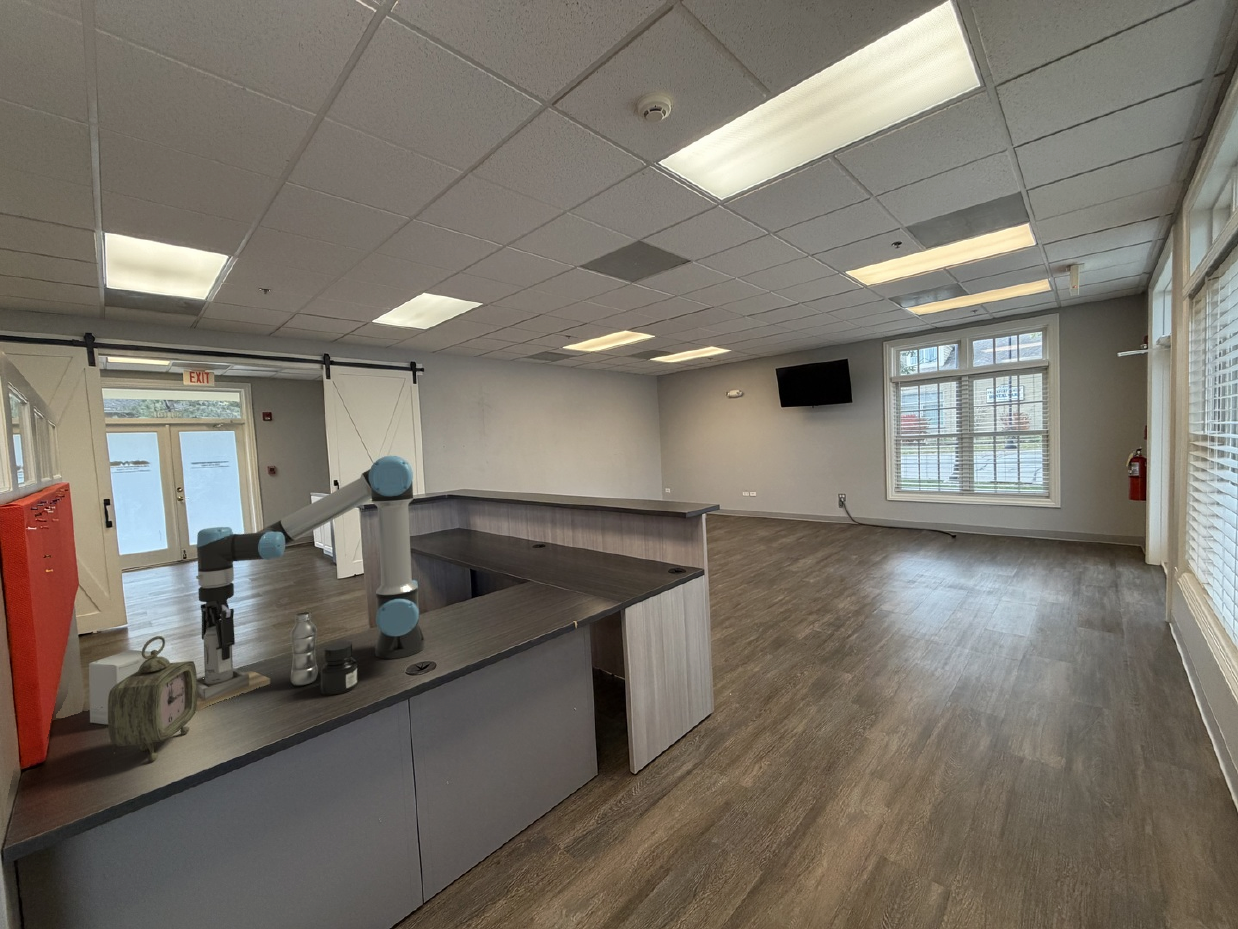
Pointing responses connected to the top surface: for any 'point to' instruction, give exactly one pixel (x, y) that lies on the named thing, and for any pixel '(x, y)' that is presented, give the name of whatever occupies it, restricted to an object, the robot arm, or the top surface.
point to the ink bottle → (338, 669)
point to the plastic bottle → (303, 650)
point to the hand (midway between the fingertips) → (218, 668)
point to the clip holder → (228, 687)
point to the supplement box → (110, 680)
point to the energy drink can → (214, 659)
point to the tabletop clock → (152, 702)
